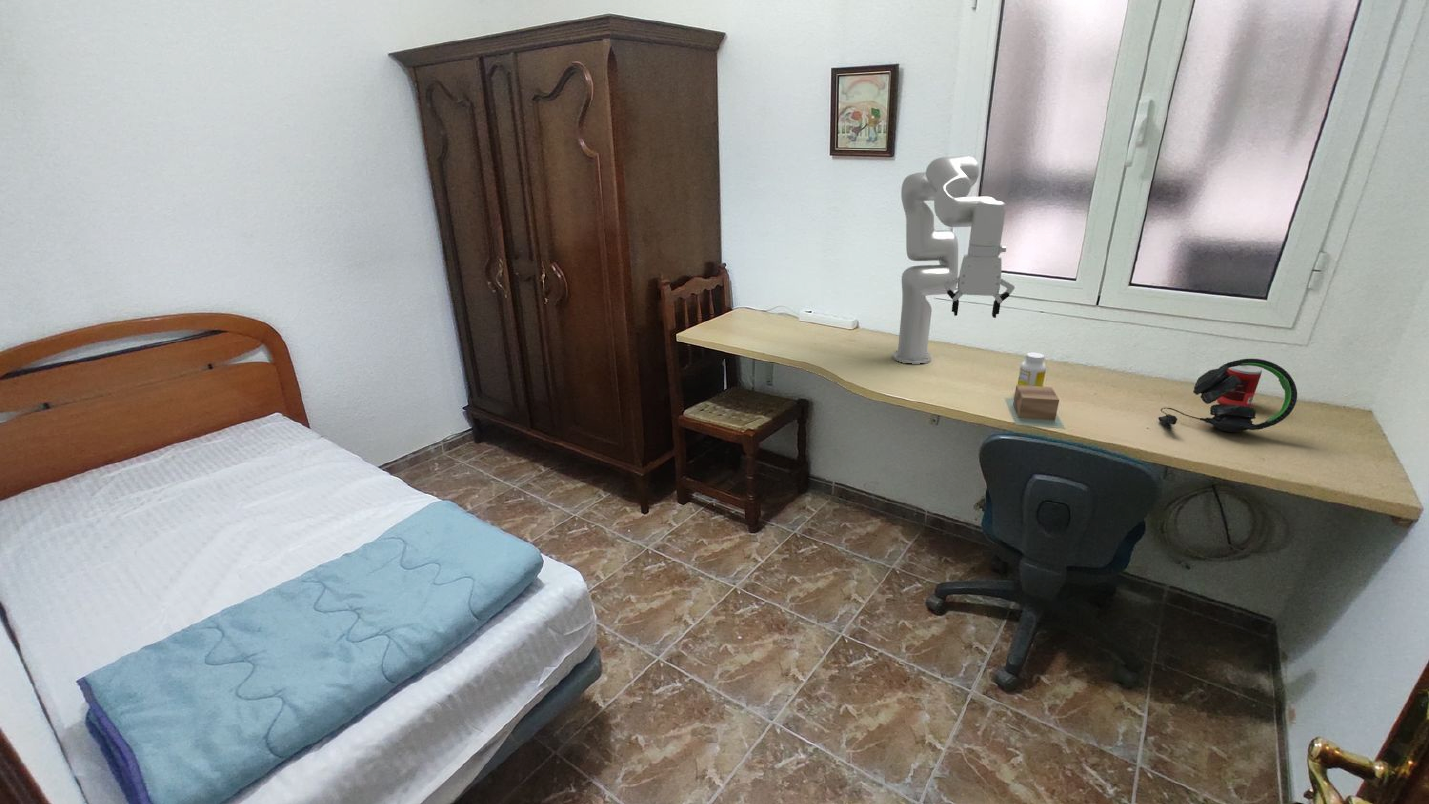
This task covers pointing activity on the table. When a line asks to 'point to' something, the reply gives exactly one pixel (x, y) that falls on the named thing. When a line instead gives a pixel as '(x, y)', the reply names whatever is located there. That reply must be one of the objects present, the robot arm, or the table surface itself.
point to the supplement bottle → (1032, 370)
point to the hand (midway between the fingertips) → (974, 315)
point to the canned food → (1242, 386)
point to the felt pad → (1032, 422)
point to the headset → (1236, 415)
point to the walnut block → (1035, 402)
